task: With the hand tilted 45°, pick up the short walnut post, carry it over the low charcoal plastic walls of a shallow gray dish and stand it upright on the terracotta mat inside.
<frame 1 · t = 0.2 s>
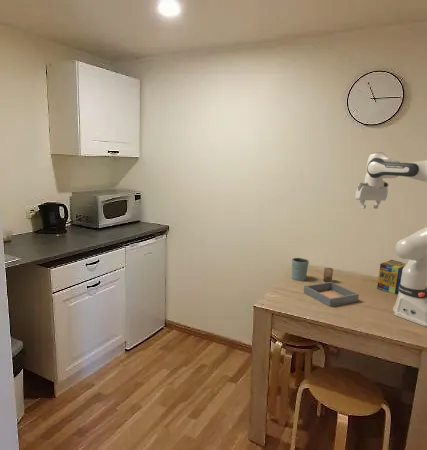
hand: (369, 208, 200), 48 cm above the table, tool pointing down, fingers open, 8 cm apart
walnut post: (327, 281, 223), on the table
protein box: (391, 289, 216), on the table
shallow gray dish: (330, 296, 198), on the table
teal cup: (298, 278, 226), on the table
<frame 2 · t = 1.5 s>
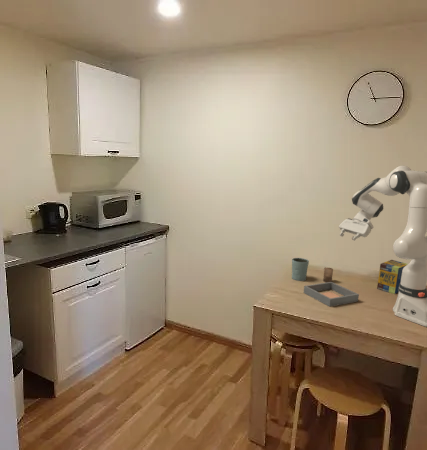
hand: (346, 237, 223), 27 cm above the table, tool tilted 45°, fingers open, 8 cm apart
nothing on the table moved.
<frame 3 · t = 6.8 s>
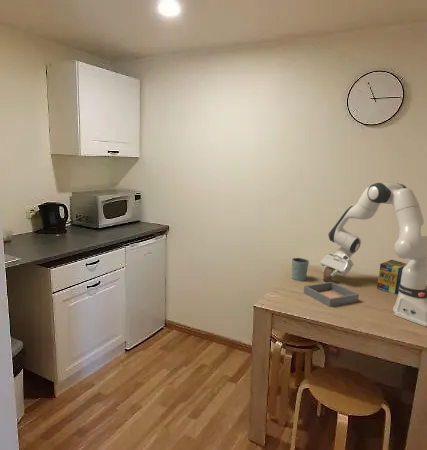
hand: (327, 274, 222), 4 cm above the table, tool tilted 45°, fingers closed on walnut post, 5 cm apart
walnut post: (327, 281, 223), on the table, touching gripper
everything else where it was.
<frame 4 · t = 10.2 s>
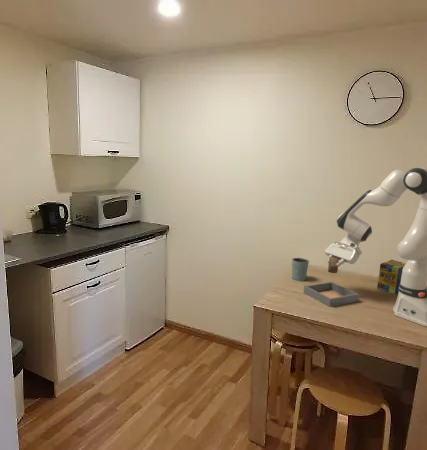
hand: (332, 264, 200), 17 cm above the table, tool tilted 45°, fingers closed on walnut post, 5 cm apart
walnut post: (332, 271, 202), point 12 cm above the table, touching gripper
everything else where it was.
when the fingers open (6 cm above the table, at t = 13.7 s): walnut post drops 1 cm, resting on shallow gray dish.
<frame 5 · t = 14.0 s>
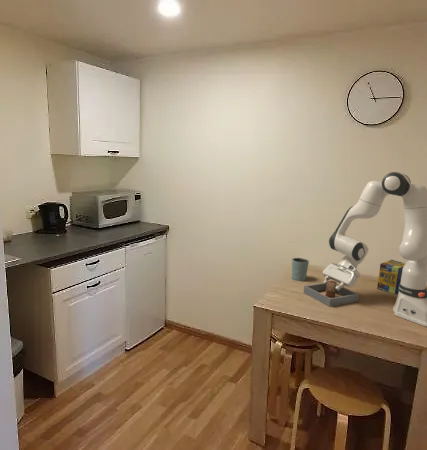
hand: (330, 286, 197), 6 cm above the table, tool tilted 45°, fingers open, 7 cm apart
walnut post: (330, 296, 198), resting on shallow gray dish
everything else where it was.
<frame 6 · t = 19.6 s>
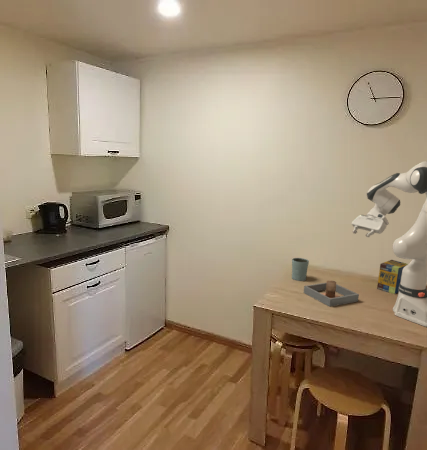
hand: (360, 234, 211), 31 cm above the table, tool tilted 45°, fingers open, 8 cm apart
nothing on the table moved.
at the end: walnut post inside the target area on the shallow gray dish (0.1 cm from its centre), point 0.5 cm above the shallow gray dish's base; walnut post tilted 2°; the gripper is holding nothing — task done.
